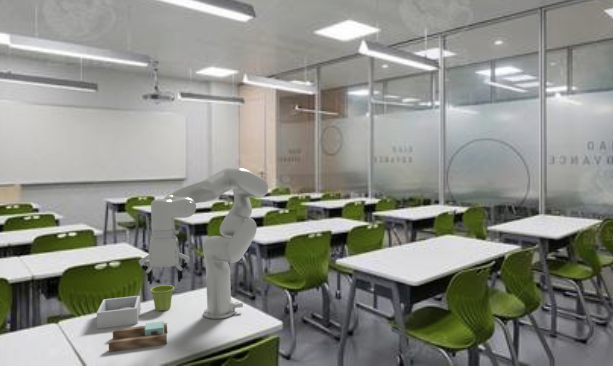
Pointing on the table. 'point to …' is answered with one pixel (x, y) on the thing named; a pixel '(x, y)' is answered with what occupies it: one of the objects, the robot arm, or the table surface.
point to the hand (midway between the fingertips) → (165, 282)
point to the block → (154, 328)
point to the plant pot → (162, 297)
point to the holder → (118, 312)
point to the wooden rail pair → (136, 338)
